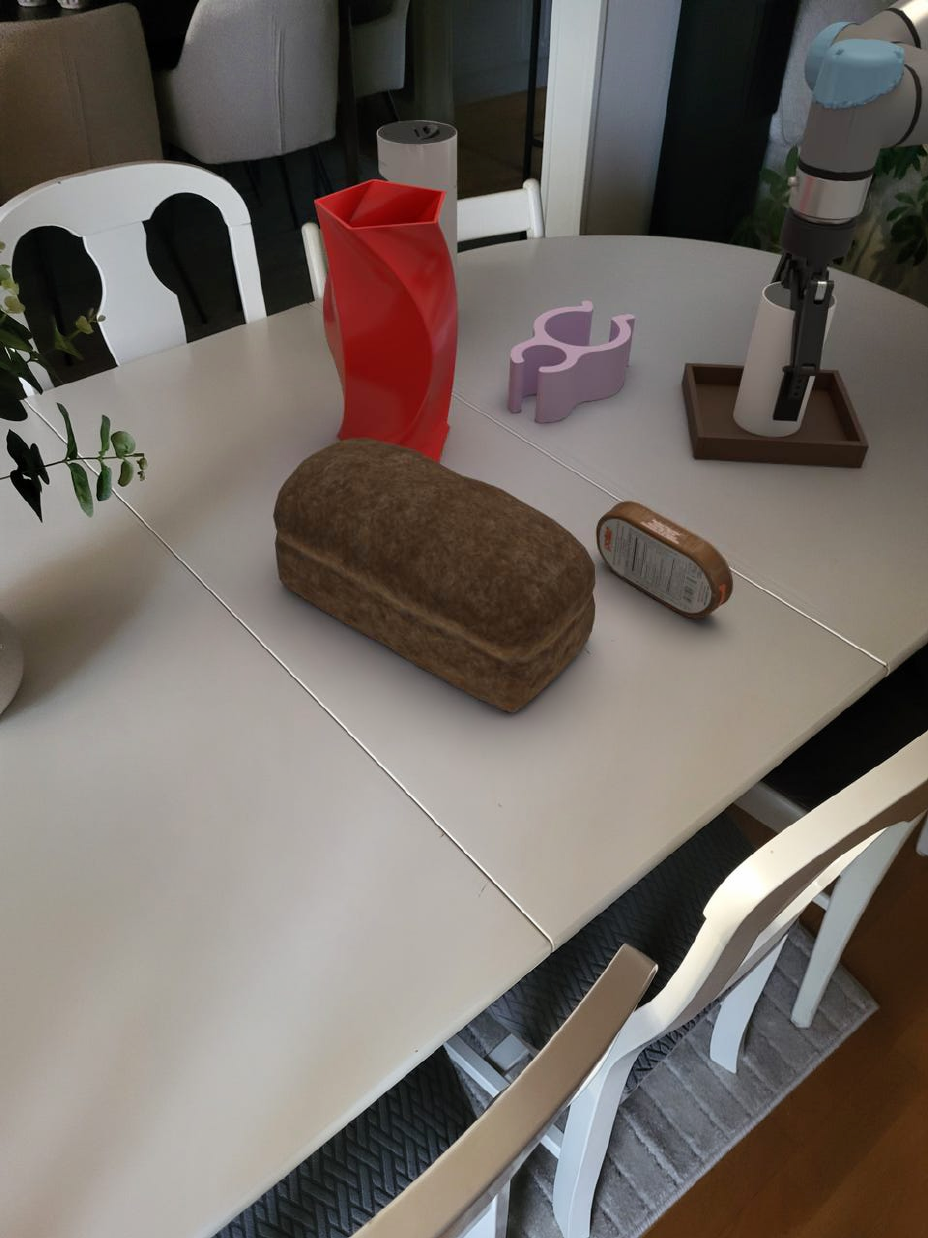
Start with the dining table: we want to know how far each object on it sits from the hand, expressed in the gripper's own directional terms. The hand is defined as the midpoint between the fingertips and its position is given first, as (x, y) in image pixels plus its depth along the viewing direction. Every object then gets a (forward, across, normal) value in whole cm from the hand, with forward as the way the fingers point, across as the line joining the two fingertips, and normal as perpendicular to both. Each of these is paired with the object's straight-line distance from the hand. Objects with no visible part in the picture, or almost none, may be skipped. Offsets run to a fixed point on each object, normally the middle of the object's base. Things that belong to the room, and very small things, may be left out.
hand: (775, 389), depth 115 cm
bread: (+5, +38, -38) cm, 54 cm away
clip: (+5, -7, -25) cm, 26 cm away
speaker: (+5, -23, -46) cm, 52 cm away
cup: (+4, 0, 0) cm, 4 cm away
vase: (+5, +9, -46) cm, 47 cm away
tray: (+5, 0, 0) cm, 5 cm away
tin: (+5, +33, -16) cm, 37 cm away
